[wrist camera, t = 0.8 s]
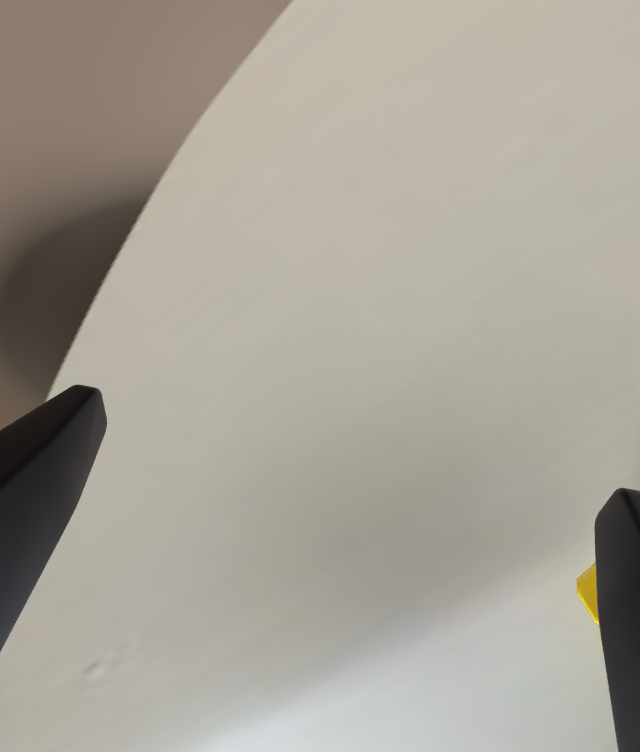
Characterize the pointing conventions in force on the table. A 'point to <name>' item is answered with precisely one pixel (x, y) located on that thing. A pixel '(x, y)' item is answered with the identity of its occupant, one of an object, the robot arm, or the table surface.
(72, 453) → the robot arm
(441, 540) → the table surface
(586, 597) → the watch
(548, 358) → the table surface
